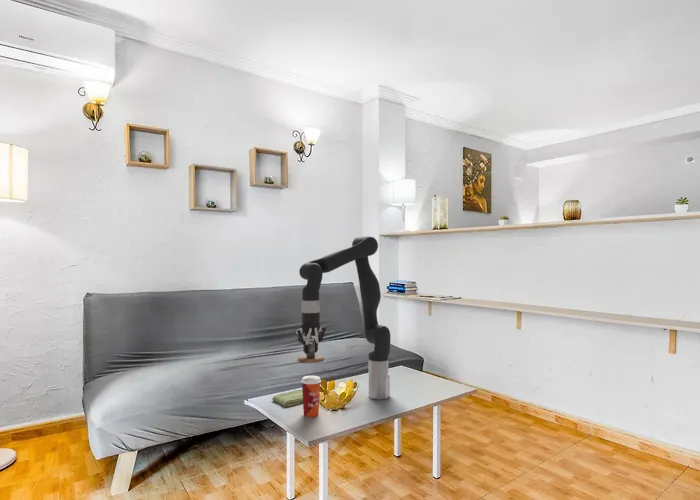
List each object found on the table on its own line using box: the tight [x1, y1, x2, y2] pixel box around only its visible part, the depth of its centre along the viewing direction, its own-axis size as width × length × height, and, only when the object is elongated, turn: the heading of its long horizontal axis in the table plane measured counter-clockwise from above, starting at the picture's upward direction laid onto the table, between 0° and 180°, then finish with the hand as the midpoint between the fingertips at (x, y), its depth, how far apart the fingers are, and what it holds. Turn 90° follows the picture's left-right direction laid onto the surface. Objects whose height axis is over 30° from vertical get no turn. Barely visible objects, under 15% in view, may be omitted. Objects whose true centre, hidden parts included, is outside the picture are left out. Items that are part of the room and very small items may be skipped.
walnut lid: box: [296, 342, 325, 364], centre depth 173 cm, size 11×11×7 cm
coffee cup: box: [300, 375, 322, 418], centre depth 172 cm, size 8×8×15 cm
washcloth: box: [272, 389, 303, 408], centre depth 190 cm, size 13×18×3 cm
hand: (310, 352), depth 173 cm, fingers closed on walnut lid, 3 cm apart
